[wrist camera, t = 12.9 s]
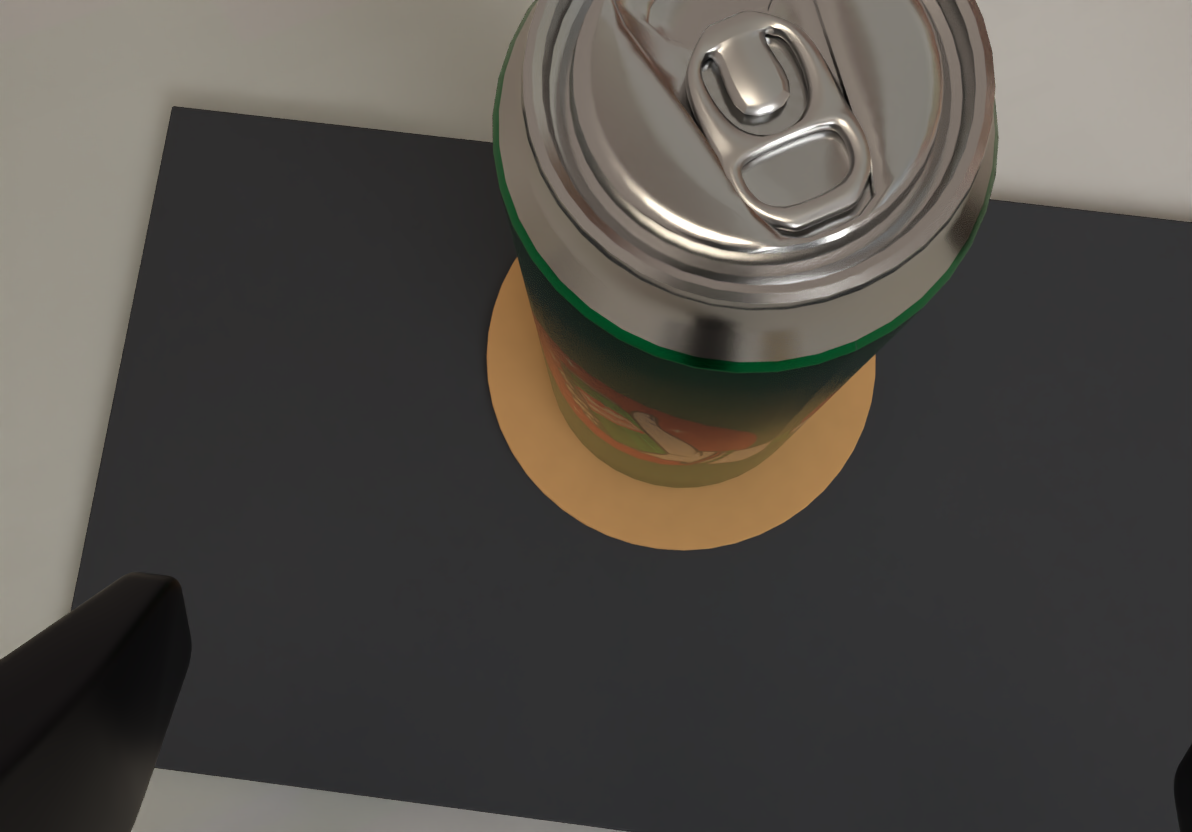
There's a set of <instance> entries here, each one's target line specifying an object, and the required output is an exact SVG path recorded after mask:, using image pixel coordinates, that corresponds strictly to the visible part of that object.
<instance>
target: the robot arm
mask: <svg viewBox="0 0 1192 832" xmlns="http://www.w3.org/2000/svg"><path fill="white" fill-rule="evenodd" d="M191 651H192V641H191V634H190V629H189V624H188V618H187V613H186V608H185V602H184V597H183V592H182V588H181V585H180V583H179V582H178V580H177V579H176V578H174V577H171V576H167V575H159V574H151V573H143V572H132V573H129V574H126V575H124V576H122V577H121V578H119V579H118V580H116V581H115V582H113V583H112V584H110V585H109V586H108V587H106V588H105V589H103V590H102V591H100V592H99V593H97V594H96V595H94V596H93V597H91V598H90V599H89V600H87V601H86V602H84V603H83V604H81V605H80V606H78V607H77V608H75V609H74V610H72V611H71V612H70V613H68V614H67V615H65V616H64V617H62V618H61V619H59V620H58V621H56V622H55V623H53V624H52V625H51V626H49V627H48V628H46V629H45V630H43V631H42V632H40V633H39V634H37V635H36V636H34V637H33V638H32V639H30V640H29V641H27V642H26V643H24V644H23V645H21V646H20V647H18V648H17V649H15V650H14V651H13V652H11V653H10V654H8V655H7V656H5V657H4V658H2V659H1V660H0V832H131V830H132V827H133V825H134V823H135V820H136V817H137V815H138V812H139V809H140V807H141V804H142V801H143V798H144V796H145V793H146V790H147V787H148V784H149V781H150V778H151V775H152V772H153V769H154V766H155V763H156V761H157V758H158V755H159V752H160V749H161V746H162V743H163V740H164V737H165V734H166V731H167V728H168V726H169V723H170V720H171V717H172V714H173V711H174V708H175V705H176V702H177V699H178V696H179V693H180V690H181V688H182V685H183V682H184V679H185V676H186V673H187V670H188V667H189V663H190V658H191ZM1174 799H1175V805H1176V811H1177V817H1178V823H1179V829H1180V832H1192V744H1191V745H1190V747H1189V749H1188V750H1187V752H1186V754H1185V755H1184V757H1183V759H1182V760H1181V762H1180V764H1179V765H1178V768H1177V770H1176V774H1175V778H1174Z"/></svg>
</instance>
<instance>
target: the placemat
mask: <svg viewBox="0 0 1192 832" xmlns="http://www.w3.org/2000/svg"><path fill="white" fill-rule="evenodd" d="M132 572H143V573H151V574H159V575H167V576H171V577H174V578H176V579H177V580H178V582H179V583H180V585H181V588H182V592H183V597H184V602H185V608H186V613H187V618H188V624H189V629H190V634H191V641H192V651H191V658H190V663H189V667H188V670H187V673H186V676H185V679H184V682H183V685H182V688H181V690H180V693H179V696H178V699H177V702H176V705H175V708H174V711H173V714H172V717H171V720H170V723H169V726H168V728H167V731H166V734H165V737H164V740H163V743H162V746H161V749H160V752H159V755H158V758H157V761H156V763H155V766H154V768H161V769H168V770H176V771H183V772H191V773H198V774H206V775H213V776H220V777H228V778H235V779H243V780H250V781H258V782H265V783H272V784H280V785H287V786H295V787H302V788H310V789H317V790H325V791H332V792H339V793H347V794H354V795H362V796H369V797H377V798H384V799H391V800H399V801H406V802H414V803H421V804H429V805H436V806H443V807H451V808H458V809H466V810H473V811H481V812H488V813H496V814H503V815H510V816H518V817H525V818H533V819H540V820H548V821H555V822H562V823H570V824H577V825H585V826H592V827H600V828H607V829H614V830H622V831H629V832H1180V829H1179V823H1178V817H1177V811H1176V805H1175V799H1174V778H1175V774H1176V770H1177V768H1178V765H1179V764H1180V762H1181V760H1182V759H1183V757H1184V755H1185V754H1186V752H1187V750H1188V749H1189V747H1190V745H1191V744H1192V222H1184V221H1176V220H1167V219H1158V218H1149V217H1140V216H1132V215H1123V214H1114V213H1105V212H1097V211H1088V210H1079V209H1070V208H1061V207H1053V206H1044V205H1035V204H1026V203H1018V202H1009V201H1000V200H991V199H990V200H989V204H988V208H987V211H986V214H985V216H984V218H983V221H982V223H981V225H980V227H979V230H978V232H977V234H976V237H975V239H974V241H973V243H972V246H971V247H970V249H969V251H968V252H967V254H966V255H965V257H964V258H963V260H962V261H961V263H960V264H959V266H958V267H957V269H956V270H955V272H954V273H953V275H952V276H951V278H950V279H949V280H948V282H947V283H946V284H945V285H944V286H943V287H942V288H941V289H940V290H939V291H938V292H937V293H936V294H935V295H934V297H933V298H932V299H931V300H930V301H929V302H928V303H927V304H926V305H925V306H924V307H923V308H922V309H921V310H920V311H919V312H918V313H917V314H916V315H915V316H914V317H913V318H912V319H911V320H910V321H909V322H908V323H907V324H906V325H905V326H904V327H903V328H902V329H901V330H900V331H899V332H898V333H897V334H896V335H895V336H894V337H893V338H892V339H891V340H890V341H888V342H887V343H886V344H885V345H884V346H883V347H882V348H881V349H880V350H879V351H878V352H877V353H876V354H875V355H874V356H873V357H872V358H871V359H870V360H869V361H868V362H867V363H866V364H865V365H864V366H863V367H862V368H861V369H860V370H859V371H858V372H857V373H856V374H855V375H854V376H853V377H851V378H850V379H849V380H848V381H847V382H846V383H845V384H844V385H843V386H842V387H841V388H840V389H839V390H838V391H837V392H836V393H835V394H834V395H833V396H832V397H831V398H830V399H829V400H828V401H827V402H826V403H825V404H824V405H823V406H822V407H821V408H820V409H819V410H818V411H817V412H816V413H815V414H813V415H812V416H811V417H810V418H809V419H808V420H807V421H806V422H805V423H804V424H803V425H802V426H801V427H800V428H799V429H798V430H797V431H796V432H795V433H794V434H793V435H792V436H791V437H790V438H789V439H788V440H787V441H786V442H785V443H784V444H783V445H782V446H781V447H780V448H779V449H778V450H776V451H775V452H774V453H773V454H772V455H771V456H769V457H768V458H767V459H766V460H764V461H763V462H762V463H760V464H759V465H758V466H756V467H755V468H753V469H751V470H749V471H747V472H745V473H744V474H742V475H740V476H738V477H735V478H732V479H730V480H727V481H724V482H721V483H718V484H713V485H707V486H702V487H692V488H673V487H665V486H657V485H652V484H649V483H646V482H642V481H639V480H635V479H633V478H631V477H629V476H627V475H624V474H622V473H620V472H618V471H616V470H614V469H613V468H611V467H610V466H608V465H607V464H605V463H604V462H602V461H601V460H600V459H598V458H597V457H596V456H595V455H594V454H593V453H591V452H590V451H589V450H588V449H587V448H586V447H585V446H584V445H583V444H582V443H581V442H580V440H579V439H578V438H577V436H576V435H575V434H574V433H573V431H572V430H571V429H570V427H569V426H568V424H567V422H566V420H565V418H564V416H563V415H562V413H561V411H560V409H559V407H558V404H557V401H556V398H555V395H554V392H553V390H552V386H551V382H550V378H549V375H548V371H547V367H546V363H545V359H544V356H543V352H542V348H541V344H540V341H539V337H538V333H537V329H536V325H535V322H534V318H533V314H532V310H531V307H530V303H529V299H528V295H527V291H526V288H525V284H524V280H523V276H522V273H521V269H520V265H519V261H518V257H517V254H516V250H515V246H514V242H513V239H512V235H511V231H510V227H509V223H508V220H507V216H506V212H505V208H504V205H503V201H502V197H501V193H500V189H499V184H498V178H497V172H496V167H495V161H494V156H493V143H491V142H482V141H474V140H465V139H456V138H447V137H438V136H430V135H421V134H412V133H403V132H395V131H386V130H377V129H368V128H359V127H351V126H342V125H333V124H324V123H316V122H307V121H298V120H289V119H280V118H272V117H263V116H254V115H245V114H237V113H228V112H219V111H210V110H202V109H193V108H184V107H175V106H174V107H172V111H171V116H170V121H169V126H168V131H167V136H166V141H165V146H164V151H163V155H162V160H161V165H160V170H159V175H158V180H157V185H156V190H155V195H154V200H153V205H152V210H151V215H150V220H149V225H148V230H147V235H146V240H145V245H144V250H143V255H142V260H141V265H140V270H139V275H138V280H137V285H136V290H135V294H134V299H133V304H132V309H131V314H130V319H129V324H128V329H127V334H126V339H125V344H124V349H123V354H122V359H121V364H120V369H119V374H118V379H117V384H116V389H115V394H114V399H113V404H112V409H111V414H110V419H109V424H108V429H107V434H106V438H105V443H104V448H103V453H102V458H101V463H100V468H99V473H98V478H97V483H96V488H95V493H94V498H93V503H92V508H91V513H90V518H89V523H88V528H87V533H86V538H85V543H84V548H83V553H82V558H81V563H80V568H79V573H78V578H77V582H76V587H75V592H74V597H73V602H72V607H71V611H72V610H74V609H75V608H77V607H78V606H80V605H81V604H83V603H84V602H86V601H87V600H89V599H90V598H91V597H93V596H94V595H96V594H97V593H99V592H100V591H102V590H103V589H105V588H106V587H108V586H109V585H110V584H112V583H113V582H115V581H116V580H118V579H119V578H121V577H122V576H124V575H126V574H129V573H132Z"/></svg>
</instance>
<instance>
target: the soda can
mask: <svg viewBox="0 0 1192 832" xmlns="http://www.w3.org/2000/svg"><path fill="white" fill-rule="evenodd" d="M994 96H995V78H994V67H993V56H992V49H991V46H990V42H989V38H988V34H987V30H986V27H985V23H984V19H983V17H982V14H981V12H980V10H979V8H978V5H977V3H976V1H975V0H535V1H534V2H533V4H532V5H531V6H530V8H529V9H528V10H527V12H526V14H525V16H524V18H523V20H522V21H521V23H520V25H519V27H518V29H517V31H516V33H515V35H514V37H513V39H512V40H511V42H510V45H509V48H508V51H507V54H506V57H505V60H504V63H503V66H502V69H501V72H500V75H499V78H498V84H497V90H496V97H495V103H494V109H493V156H494V161H495V167H496V172H497V178H498V184H499V189H500V193H501V197H502V201H503V205H504V208H505V212H506V216H507V220H508V223H509V227H510V231H511V235H512V239H513V242H514V246H515V250H516V254H517V257H518V261H519V265H520V269H521V273H522V276H523V280H524V284H525V288H526V291H527V295H528V299H529V303H530V307H531V310H532V314H533V318H534V322H535V325H536V329H537V333H538V337H539V341H540V344H541V348H542V352H543V356H544V359H545V363H546V367H547V371H548V375H549V378H550V382H551V386H552V390H553V392H554V395H555V398H556V401H557V404H558V407H559V409H560V411H561V413H562V415H563V416H564V418H565V420H566V422H567V424H568V426H569V427H570V429H571V430H572V431H573V433H574V434H575V435H576V436H577V438H578V439H579V440H580V442H581V443H582V444H583V445H584V446H585V447H586V448H587V449H588V450H589V451H590V452H591V453H593V454H594V455H595V456H596V457H597V458H598V459H600V460H601V461H602V462H604V463H605V464H607V465H608V466H610V467H611V468H613V469H614V470H616V471H618V472H620V473H622V474H624V475H627V476H629V477H631V478H633V479H635V480H639V481H642V482H646V483H649V484H652V485H657V486H665V487H673V488H692V487H702V486H707V485H713V484H718V483H721V482H724V481H727V480H730V479H732V478H735V477H738V476H740V475H742V474H744V473H745V472H747V471H749V470H751V469H753V468H755V467H756V466H758V465H759V464H760V463H762V462H763V461H764V460H766V459H767V458H768V457H769V456H771V455H772V454H773V453H774V452H775V451H776V450H778V449H779V448H780V447H781V446H782V445H783V444H784V443H785V442H786V441H787V440H788V439H789V438H790V437H791V436H792V435H793V434H794V433H795V432H796V431H797V430H798V429H799V428H800V427H801V426H802V425H803V424H804V423H805V422H806V421H807V420H808V419H809V418H810V417H811V416H812V415H813V414H815V413H816V412H817V411H818V410H819V409H820V408H821V407H822V406H823V405H824V404H825V403H826V402H827V401H828V400H829V399H830V398H831V397H832V396H833V395H834V394H835V393H836V392H837V391H838V390H839V389H840V388H841V387H842V386H843V385H844V384H845V383H846V382H847V381H848V380H849V379H850V378H851V377H853V376H854V375H855V374H856V373H857V372H858V371H859V370H860V369H861V368H862V367H863V366H864V365H865V364H866V363H867V362H868V361H869V360H870V359H871V358H872V357H873V356H874V355H875V354H876V353H877V352H878V351H879V350H880V349H881V348H882V347H883V346H884V345H885V344H886V343H887V342H888V341H890V340H891V339H892V338H893V337H894V336H895V335H896V334H897V333H898V332H899V331H900V330H901V329H902V328H903V327H904V326H905V325H906V324H907V323H908V322H909V321H910V320H911V319H912V318H913V317H914V316H915V315H916V314H917V313H918V312H919V311H920V310H921V309H922V308H923V307H924V306H925V305H926V304H927V303H928V302H929V301H930V300H931V299H932V298H933V297H934V295H935V294H936V293H937V292H938V291H939V290H940V289H941V288H942V287H943V286H944V285H945V284H946V283H947V282H948V280H949V279H950V278H951V276H952V275H953V273H954V272H955V270H956V269H957V267H958V266H959V264H960V263H961V261H962V260H963V258H964V257H965V255H966V254H967V252H968V251H969V249H970V247H971V246H972V243H973V241H974V239H975V237H976V234H977V232H978V230H979V227H980V225H981V223H982V221H983V218H984V216H985V214H986V211H987V208H988V204H989V200H990V196H991V192H992V188H993V184H994V180H995V176H996V165H997V151H998V138H999V136H998V125H997V114H996V103H995V97H994Z"/></svg>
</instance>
